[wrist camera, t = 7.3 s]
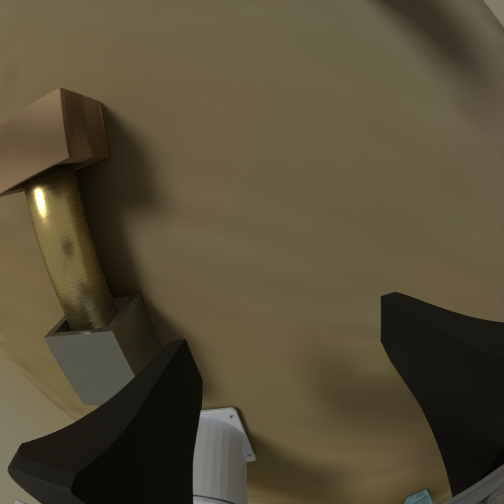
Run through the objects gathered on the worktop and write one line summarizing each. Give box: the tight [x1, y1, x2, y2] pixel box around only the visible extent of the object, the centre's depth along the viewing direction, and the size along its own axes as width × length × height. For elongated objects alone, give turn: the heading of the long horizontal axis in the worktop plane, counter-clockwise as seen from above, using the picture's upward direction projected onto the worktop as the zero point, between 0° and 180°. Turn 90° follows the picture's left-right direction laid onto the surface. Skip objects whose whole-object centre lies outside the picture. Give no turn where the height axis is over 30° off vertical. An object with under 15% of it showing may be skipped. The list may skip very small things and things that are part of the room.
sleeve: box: [44, 292, 162, 406], centre depth 18 cm, size 6×6×5 cm
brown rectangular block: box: [0, 88, 110, 197], centre depth 13 cm, size 4×7×5 cm, turn 101°
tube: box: [23, 163, 118, 331], centre depth 15 cm, size 13×4×4 cm, turn 11°
